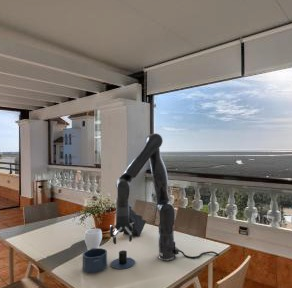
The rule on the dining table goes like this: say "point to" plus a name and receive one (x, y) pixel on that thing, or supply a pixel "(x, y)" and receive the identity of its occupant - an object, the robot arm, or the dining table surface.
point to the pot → (94, 260)
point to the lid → (122, 261)
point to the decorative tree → (137, 221)
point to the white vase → (93, 238)
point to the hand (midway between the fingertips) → (122, 242)
